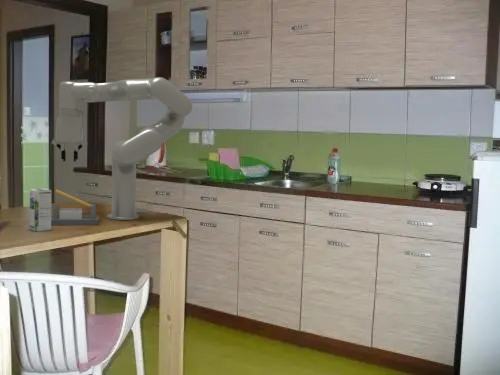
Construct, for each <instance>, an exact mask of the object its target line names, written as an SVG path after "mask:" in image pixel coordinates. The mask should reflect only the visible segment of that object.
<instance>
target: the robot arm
mask: <svg viewBox="0 0 500 375" xmlns="http://www.w3.org/2000/svg"><path fill="white" fill-rule="evenodd" d="M151 100H158V101H159V102H160V103H161V104H163V105H164V106H165V108H166V112H165V115H164V116H163V117H162V118H160V119H159V120H157V121H155V122H154V123H152V124H150V125H148V126H147V127H144V128H142V129H140V130H139V131H138V133H137V134H136V135H134V136H132V137H131V138H129V139H127V140H120V141H118V142H116V143H115V144H114V145H113V146H112V149H111V177H112V178H111V212H110V213H108V214H107V219H109V220H114V221H115V220H116V221H131V220H137V219H139V218H140V214H143V215H144V214H148V209H147V208H138V207H137V204H136V203H137V202H136V201H137V199H136V193H137V185H136V184H137V164H138V163H139V162H141V161H143V160H145V159H146V158H148V157H149V156H151V155H153V154H155V153H156V152H158V151H159V150H160V149H161V148H162V147H163V145H164V142H165V141H168V140H169V139H170V138H172V137H174V136H175V135H177V133H179V132H180V131H181V129H182V127H183V125H184V122H185V119H186V117H187V116H189V115H190V114H191V112H192V110H193V102H192V100H191V99H190V98H189V97H188V96H187V95H186V94H184V92H182V91H181V90H180V89H178V87H176V86H175V85H174V84H173V83H171V82H170V81H169V80H167V79H166V78H164V77H159V76H158V77H153V78H133V79H129V78H128V79H120V80H116V81H111V82H102V83H101V82H99V83H98V82H97V83H96V82H92V81H85V82H77V81H68V80H67V81H66V80H65V81H61V82H60V83H59V114H58V115H59V116H58V117H57V118H56V126H55V136H54V138H52V141H51V142H50V143H51V144H52V145H53V146H55V147H57V148H58V149H59V151H61V155H60V156H61V157H60V158H61V160H63V162H66V158H67V157H66V149H65V146H66V144H74V150H73V162H77V160H78V159H79V157H78V155H79V153H78V152H79V150H81V149H82V148H84V147H86V146H88V142H87V140H86V138H85V137H84V123H83V119H82V116H84V114H85V113H84V111H82V110H81V101H84V102H86V103H100V102H101V103H102V102H103V103H104V102H134V101H136V102H137V101H151Z"/></svg>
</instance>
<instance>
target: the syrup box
mask: <svg viewBox="0 0 500 375" xmlns="http://www.w3.org/2000/svg"><path fill="white" fill-rule="evenodd" d="M51 216H52V189H46V188H41V187H40V188H38V187H37V188H30V189H29V230H32V231H34V232H43V231H44V232H45V231H51V230H52V225H51Z"/></svg>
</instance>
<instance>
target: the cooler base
mask: <svg viewBox="0 0 500 375" xmlns="http://www.w3.org/2000/svg"><path fill="white" fill-rule="evenodd" d="M90 204H91V205H94V206H90V209H89V210H90V211H89V215H83V208H60V205H59V204H54V205H53V207H52V214H53V215H51V226H99V215H97V208H96V207H97V206H96V205H97V203H90ZM59 208H60V210H59Z"/></svg>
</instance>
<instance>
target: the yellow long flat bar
mask: <svg viewBox="0 0 500 375" xmlns="http://www.w3.org/2000/svg"><path fill="white" fill-rule="evenodd" d="M54 193H55V194H58V195H60V196H62V197H64V198H68V199H69V200H72V201H74V202H76V203H77V204H81V205H83V206H86V207H87V208H90V206H94V205H91V204H92V203H88V202H86V201H83V200H81V199H79V198H77V197H74V196H72V195H70V194H68V193H66V192H63V191H62V190H59V189H58V188H57V189H55V191H54Z"/></svg>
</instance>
